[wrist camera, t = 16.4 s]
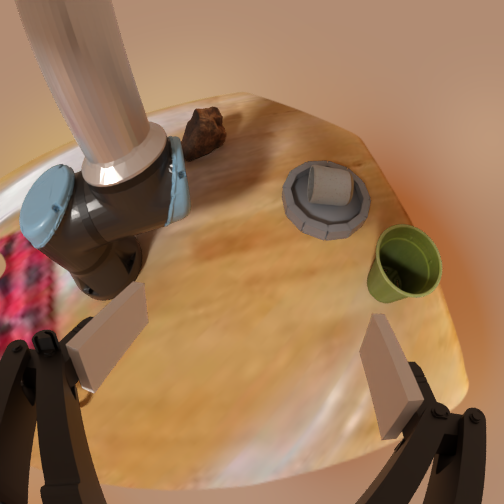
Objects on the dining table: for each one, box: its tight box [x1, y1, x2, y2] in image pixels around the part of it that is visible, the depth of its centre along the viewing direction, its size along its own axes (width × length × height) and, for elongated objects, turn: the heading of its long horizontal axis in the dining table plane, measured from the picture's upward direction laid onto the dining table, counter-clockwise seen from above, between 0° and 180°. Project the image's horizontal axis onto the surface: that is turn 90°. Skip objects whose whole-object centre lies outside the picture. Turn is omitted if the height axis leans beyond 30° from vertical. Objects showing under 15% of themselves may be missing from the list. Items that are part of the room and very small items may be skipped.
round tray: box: [282, 161, 371, 240], centre depth 53 cm, size 17×17×3 cm
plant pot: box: [367, 224, 442, 303], centre depth 41 cm, size 12×12×11 cm
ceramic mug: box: [307, 165, 354, 206], centre depth 51 cm, size 10×8×7 cm
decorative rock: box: [181, 107, 226, 161], centre depth 57 cm, size 12×6×11 cm, turn 125°
